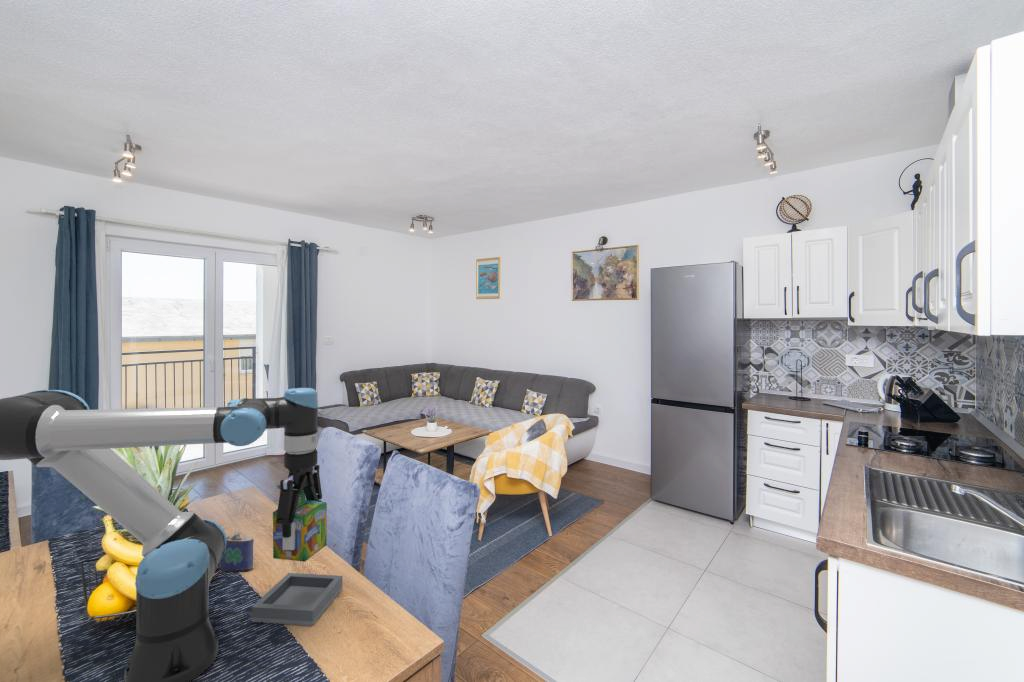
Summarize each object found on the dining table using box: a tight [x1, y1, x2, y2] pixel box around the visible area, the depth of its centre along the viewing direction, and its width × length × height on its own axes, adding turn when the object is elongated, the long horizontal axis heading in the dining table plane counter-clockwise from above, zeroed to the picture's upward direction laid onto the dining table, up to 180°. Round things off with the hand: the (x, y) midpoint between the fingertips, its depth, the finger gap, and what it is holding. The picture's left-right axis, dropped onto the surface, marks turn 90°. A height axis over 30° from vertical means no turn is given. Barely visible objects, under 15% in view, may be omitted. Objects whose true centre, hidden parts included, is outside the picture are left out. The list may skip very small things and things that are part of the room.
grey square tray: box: [250, 572, 343, 627], centre depth 110 cm, size 15×15×4 cm
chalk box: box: [272, 491, 328, 562], centre depth 110 cm, size 9×9×15 cm
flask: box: [220, 531, 254, 573], centre depth 126 cm, size 9×3×11 cm, turn 87°
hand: (300, 539), depth 110 cm, fingers closed on chalk box, 9 cm apart
